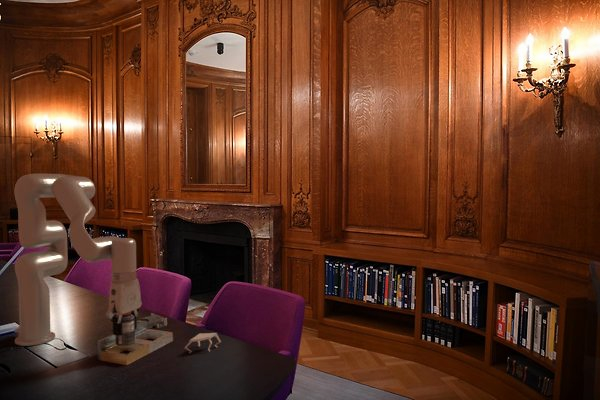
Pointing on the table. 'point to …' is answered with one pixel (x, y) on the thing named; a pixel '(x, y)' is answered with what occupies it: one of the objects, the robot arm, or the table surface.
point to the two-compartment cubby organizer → (133, 345)
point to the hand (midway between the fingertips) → (125, 331)
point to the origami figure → (203, 337)
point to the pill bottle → (126, 330)
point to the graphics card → (153, 321)
